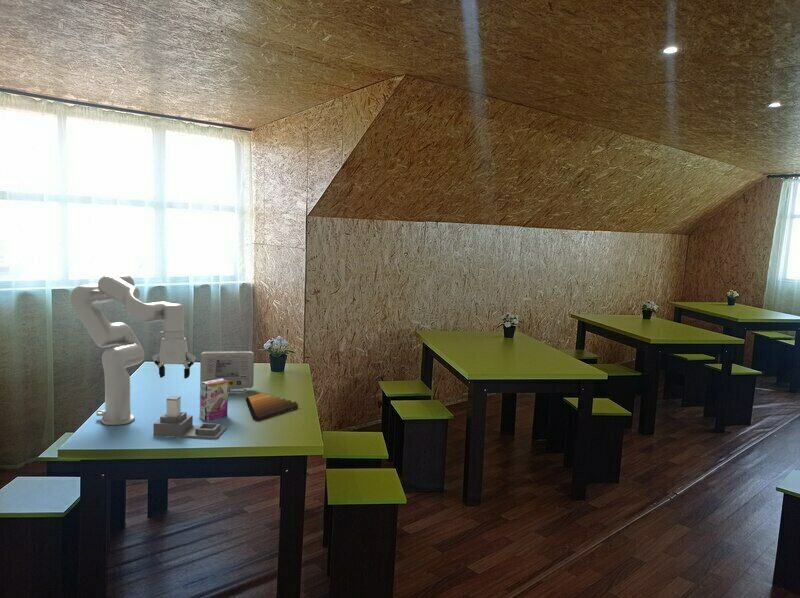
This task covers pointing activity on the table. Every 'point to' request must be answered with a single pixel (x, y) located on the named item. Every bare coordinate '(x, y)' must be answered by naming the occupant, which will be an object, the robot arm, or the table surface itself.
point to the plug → (173, 406)
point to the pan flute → (268, 406)
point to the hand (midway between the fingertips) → (174, 377)
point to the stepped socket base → (186, 427)
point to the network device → (228, 368)
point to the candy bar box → (213, 399)
